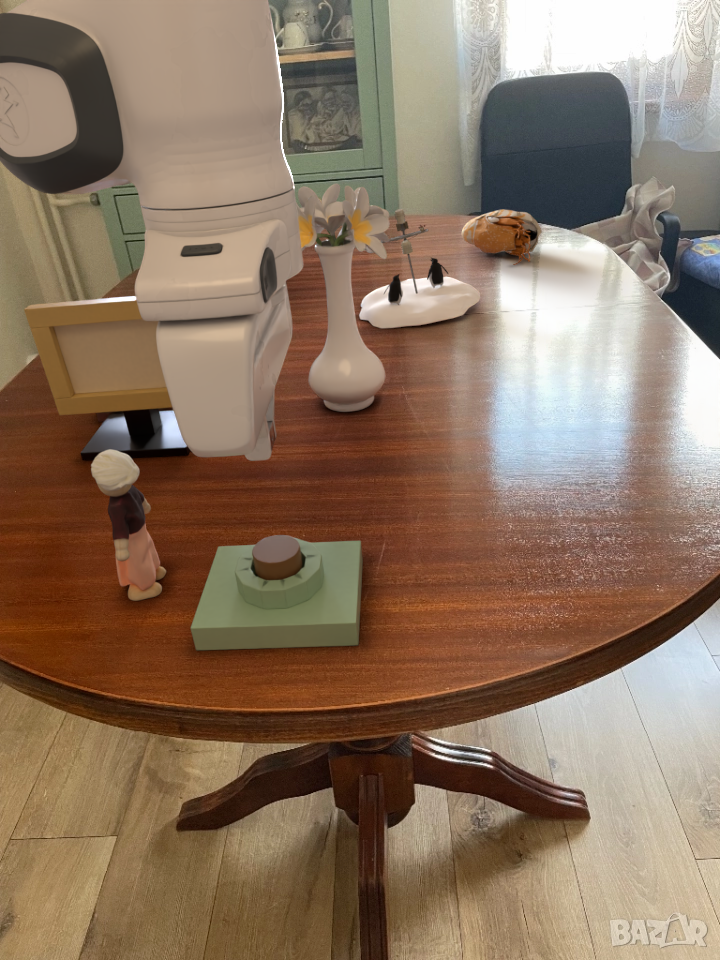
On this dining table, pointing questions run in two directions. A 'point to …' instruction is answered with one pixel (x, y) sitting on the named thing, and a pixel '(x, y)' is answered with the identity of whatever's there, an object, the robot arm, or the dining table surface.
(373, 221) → the flower vase
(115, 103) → the robot arm
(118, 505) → the grandmother figurine
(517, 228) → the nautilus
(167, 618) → the dining table surface
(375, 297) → the figurine
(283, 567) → the button
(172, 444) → the stand
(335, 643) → the switch block
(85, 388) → the picture frame
